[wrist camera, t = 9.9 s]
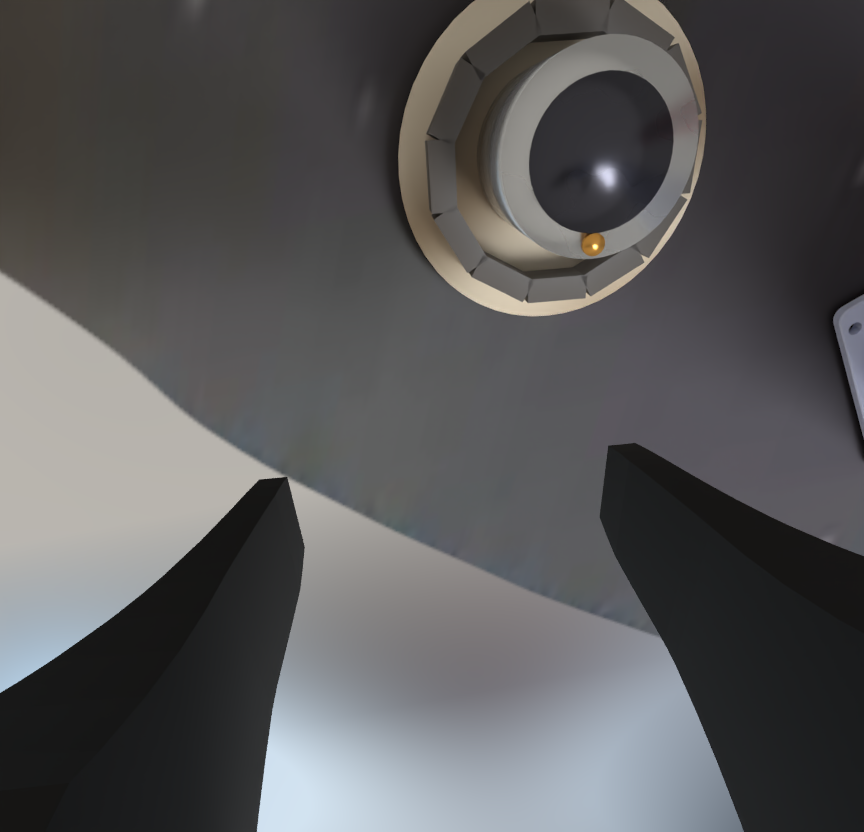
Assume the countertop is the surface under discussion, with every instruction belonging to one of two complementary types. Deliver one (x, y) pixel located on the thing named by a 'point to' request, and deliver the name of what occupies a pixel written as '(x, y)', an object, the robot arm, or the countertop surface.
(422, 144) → the mount
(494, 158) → the lens
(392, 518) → the countertop surface
